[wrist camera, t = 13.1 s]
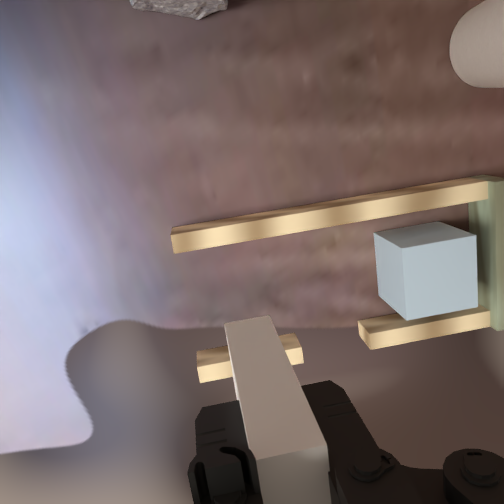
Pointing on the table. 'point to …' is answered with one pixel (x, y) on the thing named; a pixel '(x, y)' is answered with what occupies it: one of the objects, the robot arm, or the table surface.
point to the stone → (182, 7)
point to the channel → (366, 208)
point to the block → (427, 269)
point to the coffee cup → (480, 45)
